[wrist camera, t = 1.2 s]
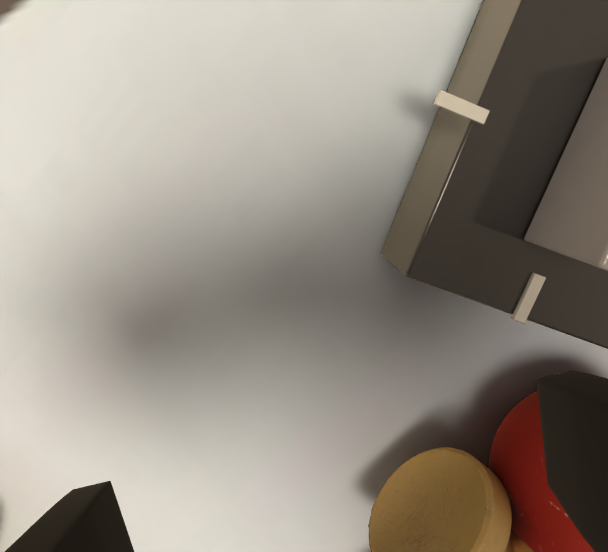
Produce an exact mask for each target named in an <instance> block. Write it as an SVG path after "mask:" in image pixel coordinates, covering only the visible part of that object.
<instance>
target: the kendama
mask: <svg viewBox="0 0 608 552" xmlns="http://www.w3.org/2000/svg"><path fill="white" fill-rule="evenodd" d="M368 527H369V543H370V549H371V552H595V551H594V550H593V549H592V548H591V546H590V545H589V544H588V543H587V541H586V540H585V539H584V538H583V537H582V535H581V534H580V532H579V531H578V529H577V528H576V526H575V525H574V524H573V522H572V521H571V519H570V518H569V516H568V515H567V513H566V512H565V510H564V509H563V507H562V506H561V504H560V503H559V501H558V499H557V498H556V496H555V495H554V493H553V492H552V490H551V489H550V487H549V485H548V484H547V475H546V465H545V456H544V446H543V437H542V427H541V418H540V408H539V399H538V391H536V392H534V393H532V394H530V395H529V396H527V397H526V398H524V399H523V400H522V401H521V402H519V403H518V404H517V405H516V406H515V407H514V408H513V409H512V410H511V411H510V412H509V413H508V414H507V415H506V417H505V418H504V420H503V421H502V423H501V424H500V426H499V428H498V430H497V432H496V435H495V438H494V440H493V443H492V447H491V451H490V457H489V468H488V467H487V466H485V465H484V464H483V463H481V462H480V461H479V460H478V459H476V458H475V457H474V456H472V455H471V454H469V453H467V452H465V451H462V450H459V449H456V448H448V447H444V448H436V449H430V450H427V451H424V452H421V453H419V454H417V455H415V456H414V457H412V458H410V459H409V460H407V461H406V462H405V463H403V464H402V465H401V466H400V467H399V468H398V469H397V470H396V471H395V472H394V473H393V474H392V475H391V476H390V477H389V479H388V480H387V482H386V483H385V484H384V486H383V488H382V489H381V491H380V493H379V495H378V497H377V499H376V501H375V503H374V506H373V508H372V513H371V517H370V521H369V525H368Z"/></svg>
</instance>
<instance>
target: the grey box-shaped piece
mask: <svg viewBox="0 0 608 552" xmlns="http://www.w3.org/2000/svg"><path fill="white" fill-rule="evenodd" d="M524 240H525V241H526V242H528V243H531V244H533V245H536V246H539V247H541V248H544V249H546V250H549V251H552V252H554V253H557V254H559V255H562V256H564V257H567V258H570V259H572V260H575V261H577V262H580V263H583V264H586V265H588V266H591V267H594V268H596V269H599V270H602V271H605V272H607V273H608V58H607V59H606V60H605V63H604V65H603V67H602V69H601V71H600V73H599V76H598V78H597V80H596V82H595V84H594V87H593V89H592V91H591V93H590V95H589V97H588V100H587V102H586V104H585V106H584V108H583V111H582V113H581V115H580V117H579V119H578V121H577V124H576V126H575V128H574V130H573V132H572V134H571V137H570V139H569V141H568V143H567V145H566V148H565V150H564V152H563V154H562V156H561V158H560V161H559V163H558V165H557V167H556V169H555V172H554V174H553V176H552V178H551V180H550V182H549V185H548V187H547V189H546V191H545V193H544V196H543V198H542V200H541V202H540V204H539V206H538V209H537V211H536V213H535V215H534V217H533V219H532V222H531V224H530V226H529V228H528V230H527V233H526V235H525V237H524Z"/></svg>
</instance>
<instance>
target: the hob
mask: <svg viewBox="0 0 608 552" xmlns="http://www.w3.org/2000/svg"><path fill="white" fill-rule="evenodd" d="M607 58H608V0H484V2H483V4H482V6H481V9H480V11H479V14H478V16H477V19H476V21H475V24H474V26H473V28H472V31H471V33H470V36H469V38H468V41H467V43H466V46H465V48H464V50H463V53H462V55H461V58H460V60H459V63H458V65H457V68H456V70H455V72H454V75H453V77H452V80H451V82H450V85H449V87H448V89H447V92H445V91H443V90H439V91H438V93H437V95H436V98H435V100H434V103H433V104H434V105H437V106H439V107H440V109H439V111H438V114H437V116H436V119H435V121H434V124H433V126H432V129H431V131H430V133H429V136H428V138H427V141H426V143H425V146H424V148H423V151H422V153H421V155H420V158H419V160H418V163H417V165H416V168H415V170H414V173H413V175H412V177H411V180H410V182H409V185H408V187H407V190H406V192H405V194H404V197H403V199H402V202H401V204H400V207H399V209H398V212H397V214H396V216H395V219H394V221H393V224H392V226H391V229H390V231H389V234H388V236H387V238H386V241H385V243H384V246H383V248H382V251H381V255H382V256H383V257H384V258H385V259H387V260H388V261H389V262H390V263H391V264H393V265H394V266H395V267H396V268H397V269H398V270H400V271H401V272H402V273H403V274H404V275H406V276H407V277H409V278H412V279H415V280H417V281H420V282H423V283H426V284H429V285H431V286H434V287H437V288H440V289H443V290H445V291H448V292H451V293H454V294H456V295H459V296H462V297H465V298H468V299H470V300H473V301H476V302H479V303H482V304H484V305H487V306H490V307H493V308H496V309H498V310H501V311H504V312H507V313H509V314H512V317H511V318H512V319H513V320H515V321H518V322H521V323H525V322H526V320H529V321H532V322H535V323H537V324H540V325H543V326H546V327H549V328H551V329H554V330H557V331H560V332H562V333H565V334H568V335H571V336H574V337H576V338H579V339H582V340H585V341H588V342H590V343H593V344H596V345H599V346H601V347H604V348H607V349H608V273H607V272H605V271H602V270H599V269H596V268H594V267H591V266H588V265H586V264H583V263H580V262H577V261H575V260H572V259H570V258H567V257H564V256H562V255H559V254H557V253H554V252H552V251H549V250H546V249H544V248H541V247H539V246H536V245H533V244H531V243H528V242H526V241H525V240H524V237H525V235H526V233H527V230H528V228H529V226H530V224H531V222H532V219H533V217H534V215H535V213H536V211H537V209H538V206H539V204H540V202H541V200H542V198H543V196H544V193H545V191H546V189H547V187H548V185H549V182H550V180H551V178H552V176H553V174H554V172H555V169H556V167H557V165H558V163H559V161H560V158H561V156H562V154H563V152H564V150H565V148H566V145H567V143H568V141H569V139H570V137H571V134H572V132H573V130H574V128H575V126H576V124H577V121H578V119H579V117H580V115H581V113H582V111H583V108H584V106H585V104H586V102H587V100H588V97H589V95H590V93H591V91H592V89H593V87H594V84H595V82H596V80H597V78H598V76H599V73H600V71H601V69H602V67H603V65H604V63H605V60H606V59H607Z"/></svg>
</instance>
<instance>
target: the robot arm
mask: <svg viewBox="0 0 608 552" xmlns="http://www.w3.org/2000/svg"><path fill="white" fill-rule="evenodd" d="M537 389H538V399H539V408H540V418H541V427H542V437H543V446H544V456H545V465H546V475H547V484H548V485H549V487H550V489H551V490H552V492H553V493H554V495H555V496H556V498H557V499H558V501H559V503H560V504H561V506H562V507H563V509H564V510H565V512H566V513H567V515H568V516H569V518H570V519H571V521H572V522H573V524H574V525H575V526H576V528H577V529H578V531H579V532H580V534H581V535H582V537H583V538H584V539H585V540H586V541H587V543H588V544H589V545H590V546H591V548H592V549H593V550H594V551H595V552H608V379H607V378H603V377H599V376H595V375H591V374H586V373H581V372H576V371H568V372H564V373H560V374H555V375H551V376H547V377H543V378H539V379H537ZM5 552H134V550H133V547H132V544H131V541H130V538H129V535H128V532H127V529H126V526H125V523H124V520H123V517H122V514H121V511H120V508H119V505H118V502H117V499H116V496H115V493H114V490H113V487H112V484H111V481H107V482H103V483H99V484H95V485H91V486H86V487H82V488H78V489H74V490H72V491H71V492H69V493H68V494H67V495H66V496H64V497H63V498H62V499H61V500H60V501H58V502H57V503H56V504H55V505H54V506H53V507H52V508H51V509H49V510H48V511H47V512H46V513H45V514H44V515H43V516H42V517H41V518H40V519H39V520H38V521H37V522H35V523H34V524H33V525H32V526H31V527H30V528H29V529H28V530H27V531H26V532H25V533H24V534H23V535H22V536H21V537H20V538H19V539H18V540H17V541H16V542H14V543H13V544H12V545H11V546H10V547H9V548H8V549H7V550H6V551H5Z"/></svg>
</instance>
